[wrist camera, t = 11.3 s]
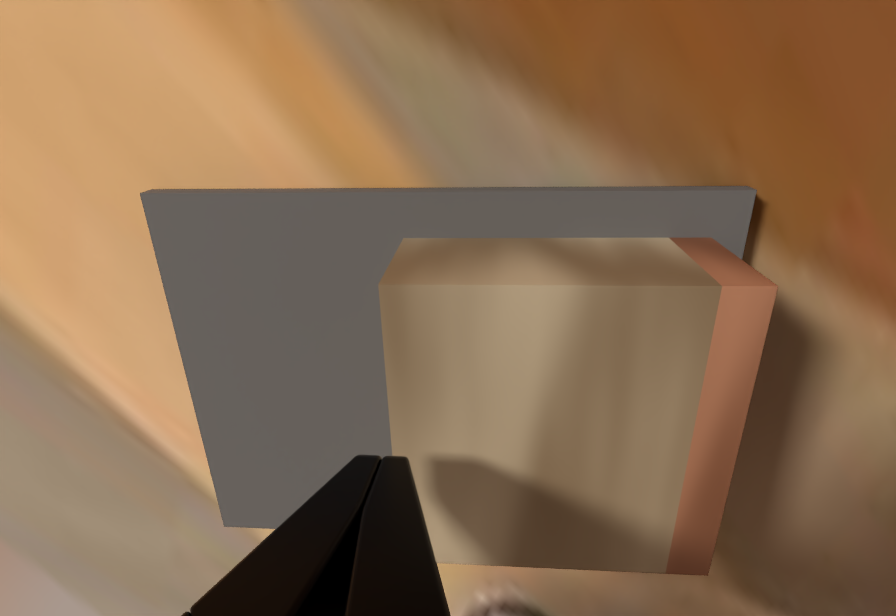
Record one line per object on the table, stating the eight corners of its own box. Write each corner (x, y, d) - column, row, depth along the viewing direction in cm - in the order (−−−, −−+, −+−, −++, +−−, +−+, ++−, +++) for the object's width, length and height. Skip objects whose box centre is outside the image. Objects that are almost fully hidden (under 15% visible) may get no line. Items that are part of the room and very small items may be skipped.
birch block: (403, 238, 11) (711, 237, 10) (417, 472, 13) (666, 481, 13) (377, 285, 8) (778, 286, 8) (401, 561, 11) (707, 575, 10)
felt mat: (747, 186, 10) (757, 189, 10) (675, 534, 14) (680, 546, 13) (151, 189, 11) (139, 193, 11) (230, 515, 15) (224, 526, 14)
